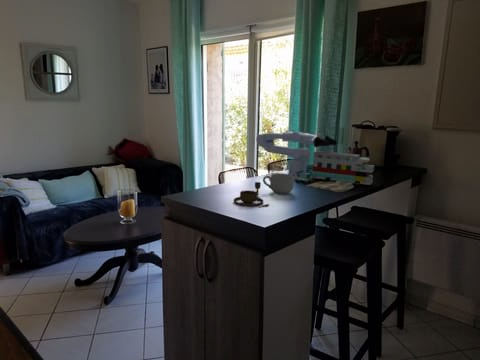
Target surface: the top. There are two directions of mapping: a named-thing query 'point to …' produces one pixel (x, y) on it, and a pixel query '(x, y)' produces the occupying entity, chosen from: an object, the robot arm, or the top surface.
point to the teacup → (280, 183)
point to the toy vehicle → (342, 168)
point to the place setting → (250, 197)
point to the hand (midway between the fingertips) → (332, 143)
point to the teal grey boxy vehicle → (303, 177)
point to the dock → (333, 186)
